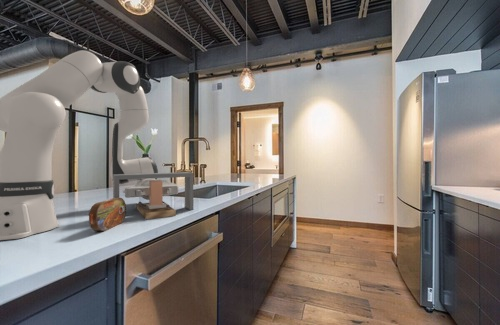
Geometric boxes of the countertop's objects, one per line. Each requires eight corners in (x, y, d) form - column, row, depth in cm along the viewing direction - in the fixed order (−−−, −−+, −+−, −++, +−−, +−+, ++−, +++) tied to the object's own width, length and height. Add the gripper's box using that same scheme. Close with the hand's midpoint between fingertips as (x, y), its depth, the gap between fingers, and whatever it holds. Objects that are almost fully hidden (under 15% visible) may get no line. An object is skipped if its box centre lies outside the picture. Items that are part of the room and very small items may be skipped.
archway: (114, 219, 82) (114, 175, 81) (113, 215, 87) (113, 174, 87) (193, 209, 97) (193, 172, 97) (188, 207, 102) (188, 172, 102)
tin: (97, 234, 64) (97, 204, 64) (86, 234, 65) (86, 204, 64) (127, 220, 80) (127, 195, 79) (118, 220, 80) (118, 195, 80)
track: (146, 219, 81) (146, 211, 81) (137, 208, 99) (136, 201, 99) (175, 215, 86) (175, 207, 86) (161, 206, 104) (161, 199, 104)
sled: (149, 209, 87) (149, 181, 87) (145, 206, 93) (145, 180, 92) (166, 207, 90) (166, 181, 90) (161, 204, 96) (161, 179, 96)
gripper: (121, 183, 96) (125, 186, 85) (173, 180, 107) (182, 183, 96) (122, 198, 96) (125, 203, 85) (173, 194, 108) (182, 198, 96)
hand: (156, 192), depth 90 cm, fingers open, 8 cm apart
